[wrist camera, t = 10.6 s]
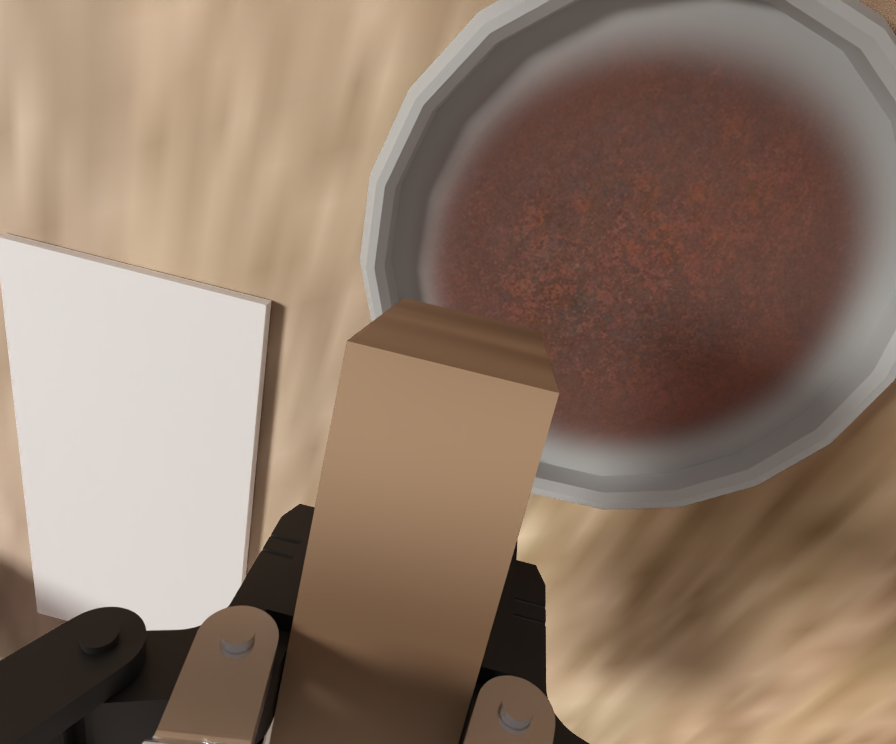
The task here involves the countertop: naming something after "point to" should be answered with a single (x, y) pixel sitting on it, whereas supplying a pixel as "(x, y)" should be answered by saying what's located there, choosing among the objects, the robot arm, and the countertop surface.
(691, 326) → the frying pan
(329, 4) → the countertop surface
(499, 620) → the robot arm
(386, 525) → the tan long bar
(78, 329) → the mat
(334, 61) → the countertop surface
